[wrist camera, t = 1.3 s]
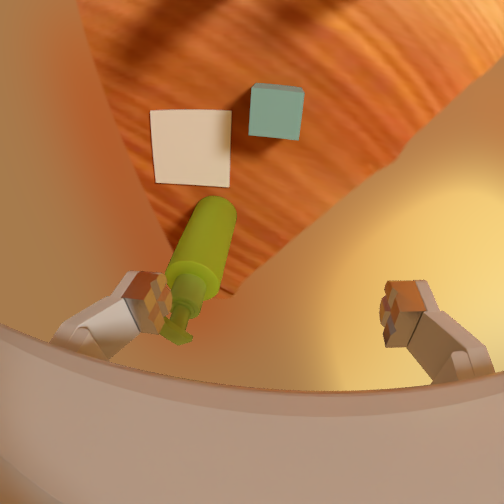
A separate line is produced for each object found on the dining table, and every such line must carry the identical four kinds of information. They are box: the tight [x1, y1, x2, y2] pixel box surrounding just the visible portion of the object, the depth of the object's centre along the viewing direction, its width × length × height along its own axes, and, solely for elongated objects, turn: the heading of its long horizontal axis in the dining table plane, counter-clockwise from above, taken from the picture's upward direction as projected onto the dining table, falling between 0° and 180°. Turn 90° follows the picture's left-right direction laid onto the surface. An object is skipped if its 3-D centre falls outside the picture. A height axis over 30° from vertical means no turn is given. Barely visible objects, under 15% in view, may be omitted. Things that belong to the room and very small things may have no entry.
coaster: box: [150, 109, 232, 187], centre depth 33 cm, size 10×10×1 cm
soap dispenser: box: [159, 196, 237, 345], centre depth 32 cm, size 6×7×20 cm
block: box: [249, 83, 304, 140], centre depth 27 cm, size 5×5×5 cm
